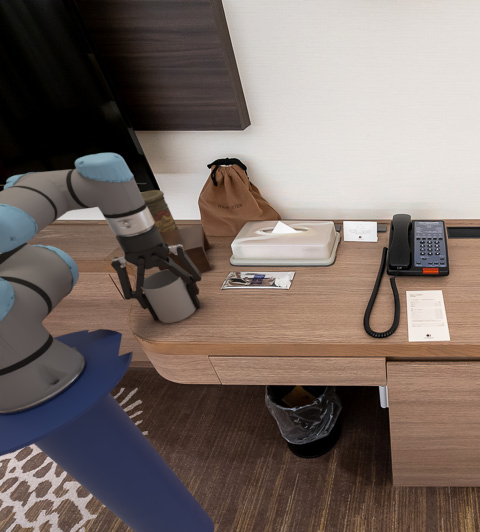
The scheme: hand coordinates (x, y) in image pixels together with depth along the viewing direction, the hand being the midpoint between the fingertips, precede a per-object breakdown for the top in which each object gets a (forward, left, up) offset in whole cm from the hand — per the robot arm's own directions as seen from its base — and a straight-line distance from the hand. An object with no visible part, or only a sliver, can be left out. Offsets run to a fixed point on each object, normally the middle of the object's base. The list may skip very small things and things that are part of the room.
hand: (177, 310), depth 85 cm
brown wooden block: (+2, +25, 0) cm, 25 cm away
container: (-4, +40, -1) cm, 40 cm away
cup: (0, 0, -1) cm, 1 cm away
